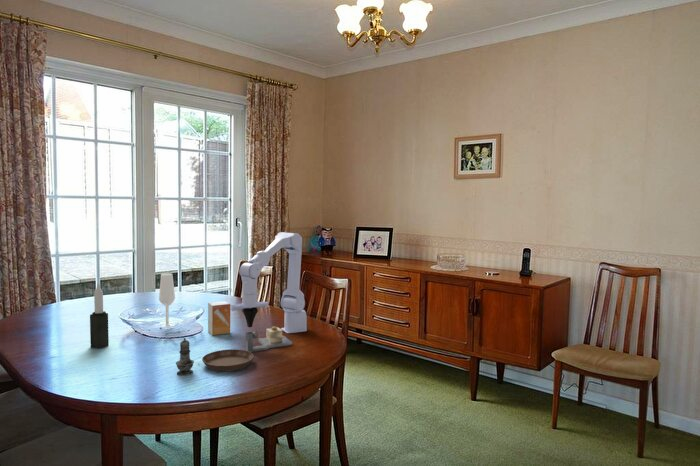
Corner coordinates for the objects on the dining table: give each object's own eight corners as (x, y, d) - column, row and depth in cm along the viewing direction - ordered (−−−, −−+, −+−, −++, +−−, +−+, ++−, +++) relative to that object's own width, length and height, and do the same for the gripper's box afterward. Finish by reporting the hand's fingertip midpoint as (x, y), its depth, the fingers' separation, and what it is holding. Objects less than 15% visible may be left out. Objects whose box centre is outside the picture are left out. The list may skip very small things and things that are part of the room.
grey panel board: (283, 338, 203) (283, 321, 202) (293, 346, 193) (293, 328, 192) (239, 343, 194) (239, 326, 193) (248, 352, 184) (248, 334, 183)
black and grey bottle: (110, 345, 189) (108, 282, 187) (99, 349, 184) (98, 284, 182) (99, 343, 190) (98, 281, 188) (89, 347, 186) (87, 283, 183)
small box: (212, 335, 204) (212, 305, 203) (207, 332, 209) (207, 302, 208) (230, 333, 208) (230, 303, 207) (225, 329, 214) (225, 300, 213)
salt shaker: (178, 369, 165) (178, 335, 164) (196, 369, 165) (195, 335, 164) (173, 376, 159) (173, 340, 158) (191, 375, 159) (191, 340, 158)
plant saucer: (199, 359, 175) (199, 351, 175) (248, 354, 182) (248, 346, 182) (205, 377, 159) (205, 368, 159) (258, 370, 166) (258, 361, 166)
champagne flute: (155, 328, 213) (155, 274, 211) (166, 324, 219) (166, 272, 217) (167, 330, 210) (167, 276, 208) (178, 326, 217) (178, 273, 215)
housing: (278, 337, 199) (278, 324, 198) (282, 341, 194) (282, 328, 194) (266, 339, 196) (266, 326, 196) (270, 342, 192) (270, 329, 192)
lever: (250, 340, 195) (249, 333, 195) (258, 338, 185) (258, 330, 186) (245, 340, 194) (245, 333, 194) (253, 338, 184) (252, 331, 185)
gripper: (264, 289, 198) (264, 322, 199) (229, 292, 191) (229, 326, 192) (269, 293, 192) (269, 326, 193) (233, 296, 185) (233, 330, 186)
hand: (249, 326), depth 192 cm, fingers closed
